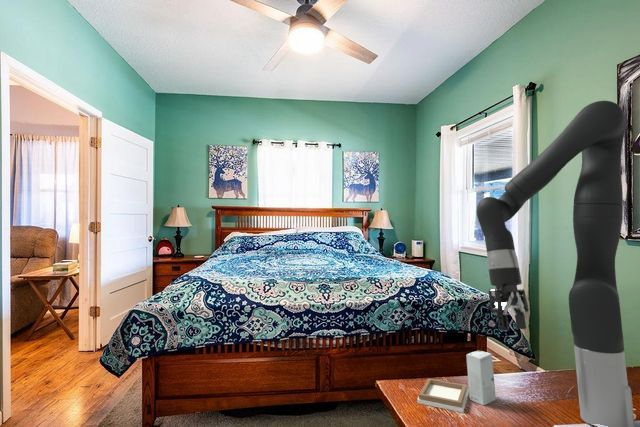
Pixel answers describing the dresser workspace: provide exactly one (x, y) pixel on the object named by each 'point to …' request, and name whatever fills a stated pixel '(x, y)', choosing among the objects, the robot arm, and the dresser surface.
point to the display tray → (444, 395)
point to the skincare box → (481, 377)
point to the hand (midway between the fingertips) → (513, 329)
